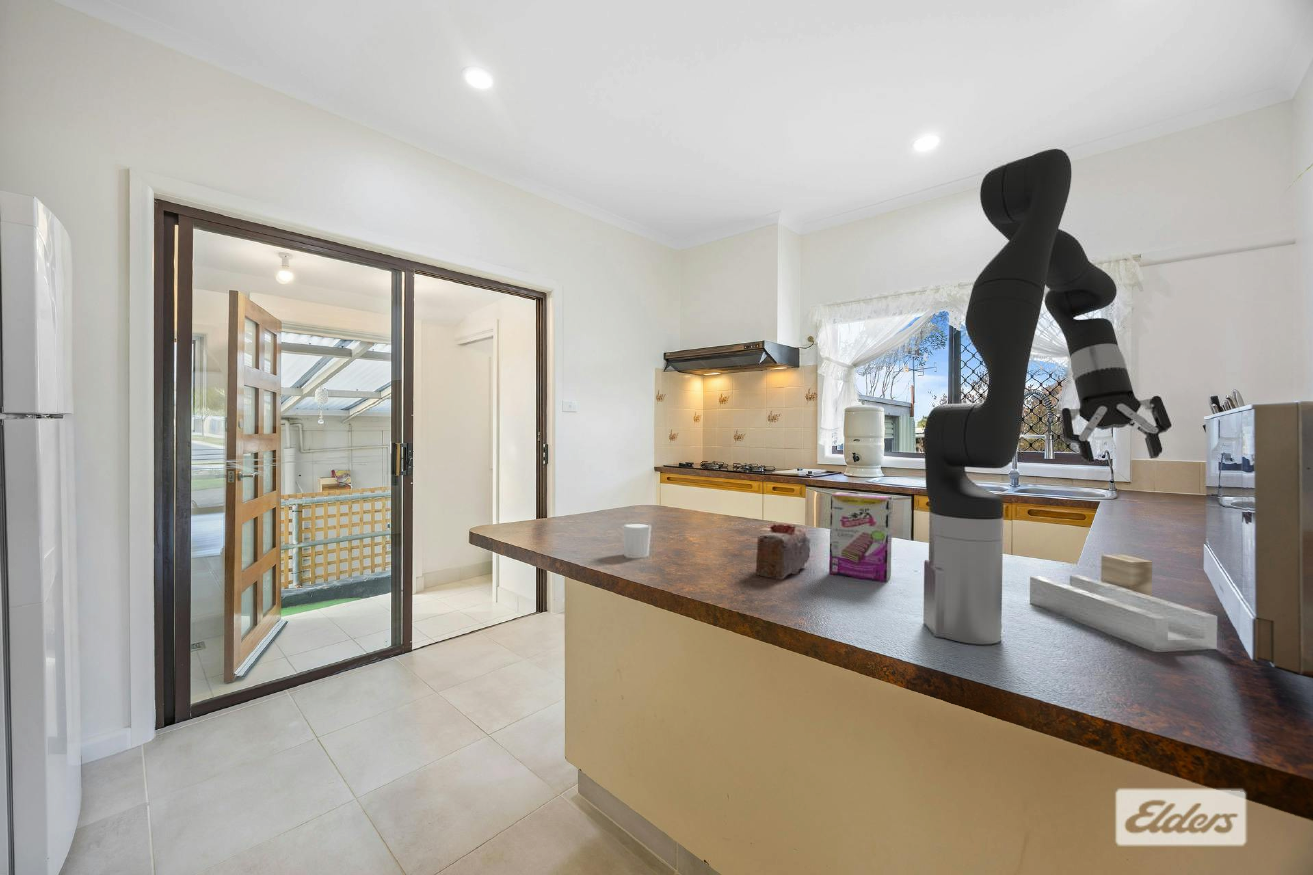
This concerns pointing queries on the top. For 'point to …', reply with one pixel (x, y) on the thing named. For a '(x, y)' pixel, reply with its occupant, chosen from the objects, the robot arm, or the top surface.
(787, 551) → the food item
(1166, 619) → the rail
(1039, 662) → the top surface
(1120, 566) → the oak block
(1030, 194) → the robot arm
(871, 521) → the candy bar box
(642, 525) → the white cylinder
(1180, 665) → the top surface
